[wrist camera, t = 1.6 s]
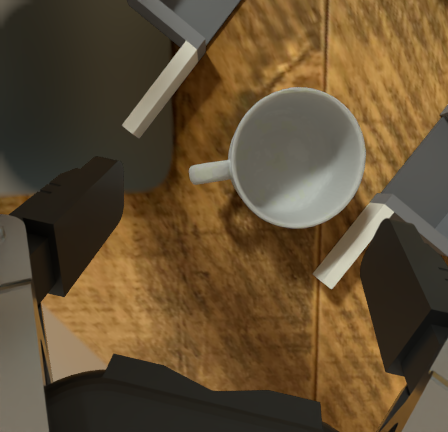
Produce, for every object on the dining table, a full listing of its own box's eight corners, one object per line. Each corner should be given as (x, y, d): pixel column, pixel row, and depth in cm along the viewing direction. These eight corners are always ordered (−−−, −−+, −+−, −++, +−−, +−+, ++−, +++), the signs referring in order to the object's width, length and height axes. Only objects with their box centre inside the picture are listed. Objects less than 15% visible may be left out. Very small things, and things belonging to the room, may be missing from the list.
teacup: (335, 113, 34) (373, 90, 26) (327, 221, 35) (363, 232, 27) (194, 105, 33) (190, 80, 25) (190, 216, 34) (185, 225, 26)
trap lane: (372, 320, 36) (392, 337, 32) (69, 84, 33) (50, 70, 29) (566, 82, 35) (612, 68, 31) (273, -188, 32) (282, -242, 28)
